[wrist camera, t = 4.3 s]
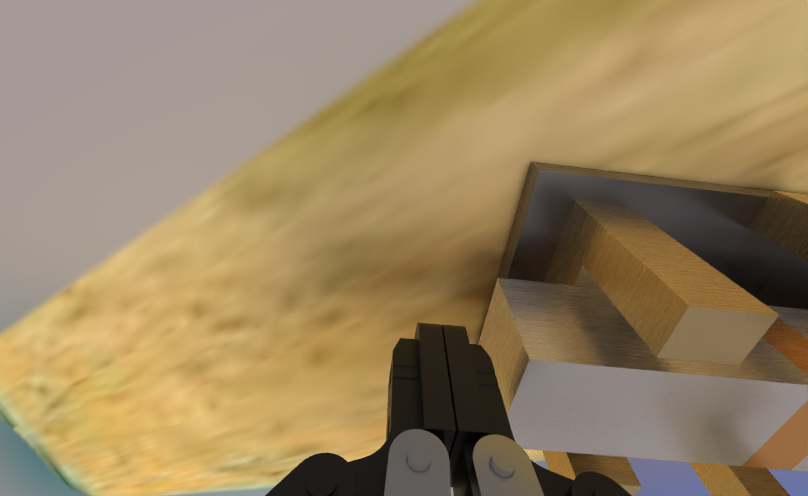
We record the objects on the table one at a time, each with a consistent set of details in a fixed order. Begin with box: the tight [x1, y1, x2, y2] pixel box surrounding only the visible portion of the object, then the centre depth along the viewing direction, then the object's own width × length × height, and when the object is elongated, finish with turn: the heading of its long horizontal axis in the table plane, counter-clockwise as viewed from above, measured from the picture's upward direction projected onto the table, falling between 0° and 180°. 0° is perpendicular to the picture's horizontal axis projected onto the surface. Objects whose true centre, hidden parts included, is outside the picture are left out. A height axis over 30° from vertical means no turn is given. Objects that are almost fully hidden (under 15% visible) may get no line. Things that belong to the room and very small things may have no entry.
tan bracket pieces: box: [542, 200, 779, 496], centre depth 12 cm, size 14×8×6 cm, turn 83°
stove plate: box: [498, 162, 808, 310], centre depth 15 cm, size 16×10×1 cm, turn 83°
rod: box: [478, 278, 808, 472], centre depth 12 cm, size 20×4×4 cm, turn 83°
